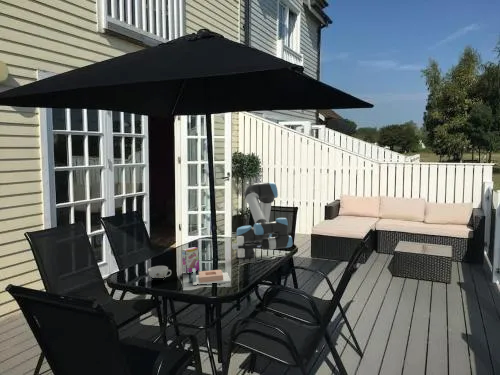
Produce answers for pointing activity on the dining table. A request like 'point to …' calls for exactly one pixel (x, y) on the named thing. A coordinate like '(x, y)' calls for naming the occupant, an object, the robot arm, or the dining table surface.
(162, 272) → the teacup
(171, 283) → the dining table surface
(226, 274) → the charging dock
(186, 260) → the candy bar box
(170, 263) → the dining table surface
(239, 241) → the peg
